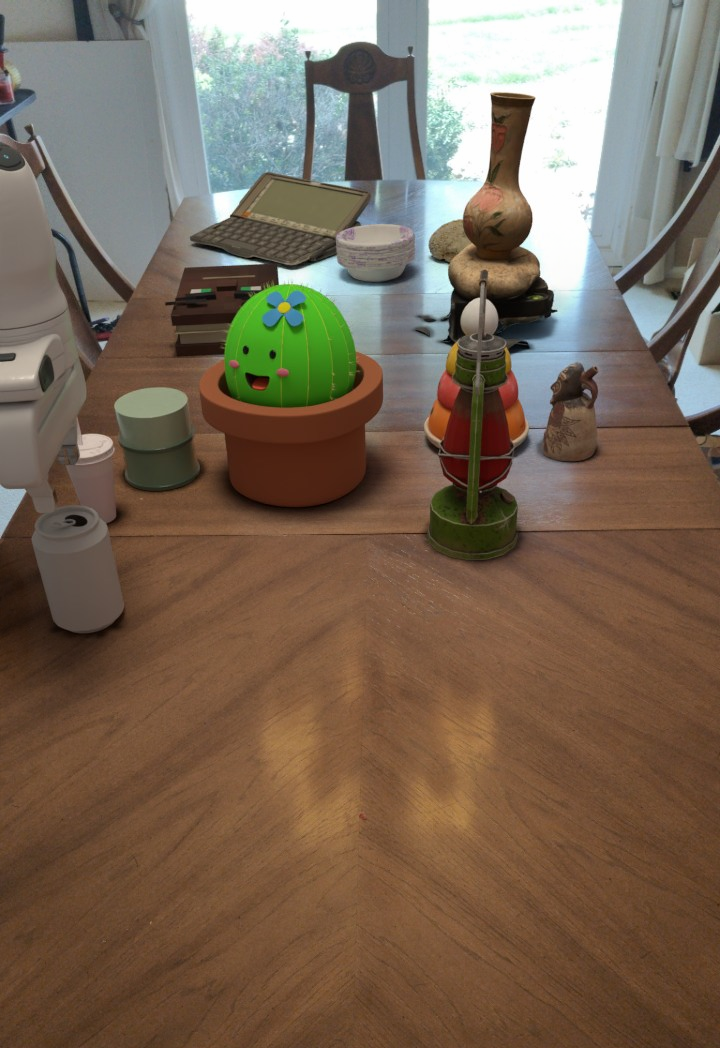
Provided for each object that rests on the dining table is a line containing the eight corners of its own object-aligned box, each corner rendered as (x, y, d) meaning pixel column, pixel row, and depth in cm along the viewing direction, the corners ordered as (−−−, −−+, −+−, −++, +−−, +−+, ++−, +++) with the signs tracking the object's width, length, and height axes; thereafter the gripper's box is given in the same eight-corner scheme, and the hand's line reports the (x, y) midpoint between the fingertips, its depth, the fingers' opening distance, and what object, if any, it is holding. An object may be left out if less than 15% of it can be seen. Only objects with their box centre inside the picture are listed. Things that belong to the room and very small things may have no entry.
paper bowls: (334, 266, 198) (332, 224, 193) (408, 261, 199) (408, 220, 194) (341, 290, 186) (339, 246, 181) (420, 285, 187) (420, 241, 182)
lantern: (517, 570, 109) (539, 299, 90) (421, 565, 110) (424, 297, 92) (519, 507, 120) (539, 254, 101) (432, 503, 121) (436, 252, 103)
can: (140, 614, 104) (119, 516, 97) (80, 647, 100) (54, 547, 93) (98, 588, 108) (76, 492, 101) (40, 619, 104) (12, 521, 97)
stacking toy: (451, 409, 142) (455, 273, 131) (543, 429, 137) (556, 287, 125) (405, 450, 133) (405, 306, 121) (502, 472, 127) (512, 323, 115)
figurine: (556, 433, 135) (564, 349, 128) (604, 446, 132) (615, 360, 125) (532, 453, 131) (539, 367, 124) (581, 467, 127) (591, 379, 120)
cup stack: (119, 492, 126) (104, 420, 120) (132, 457, 134) (119, 387, 127) (195, 490, 126) (184, 417, 120) (204, 454, 133) (194, 385, 127)
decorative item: (441, 250, 191) (424, 216, 195) (439, 285, 199) (423, 251, 203) (499, 235, 192) (481, 202, 197) (495, 271, 200) (478, 238, 204)
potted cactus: (268, 427, 140) (251, 245, 124) (409, 455, 132) (410, 264, 116) (180, 497, 124) (149, 299, 109) (334, 534, 116) (324, 325, 101)
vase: (586, 330, 166) (612, 96, 144) (484, 362, 156) (497, 116, 135) (495, 295, 181) (506, 79, 160) (397, 321, 172) (396, 96, 150)
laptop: (269, 219, 228) (265, 170, 222) (375, 241, 211) (374, 189, 205) (187, 245, 213) (180, 193, 206) (294, 271, 196) (290, 216, 190)
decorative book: (283, 254, 180) (282, 310, 156) (286, 295, 184) (285, 356, 161) (178, 259, 179) (160, 315, 156) (184, 300, 184) (167, 361, 160)
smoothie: (85, 502, 124) (62, 398, 115) (134, 505, 123) (114, 400, 114) (66, 529, 119) (40, 421, 110) (117, 531, 118) (95, 423, 109)
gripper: (19, 306, 94) (52, 438, 103) (-48, 393, 78) (-3, 541, 87) (85, 303, 94) (112, 435, 103) (30, 389, 78) (68, 538, 87)
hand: (59, 484), depth 95 cm, fingers open, 8 cm apart
